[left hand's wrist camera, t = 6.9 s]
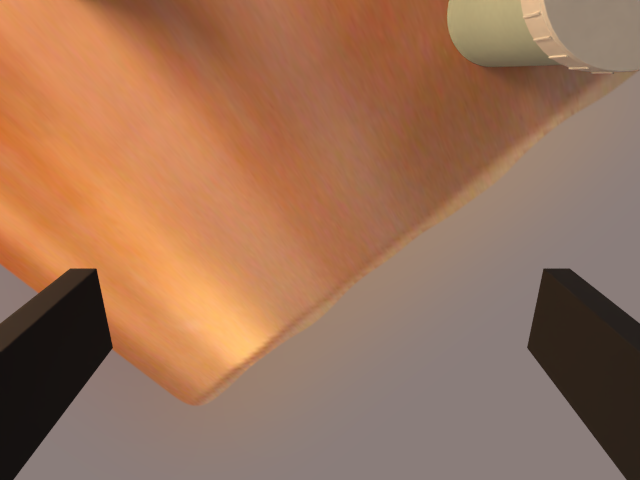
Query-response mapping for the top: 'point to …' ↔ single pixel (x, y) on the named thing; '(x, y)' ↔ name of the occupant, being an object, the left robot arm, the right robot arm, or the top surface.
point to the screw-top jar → (493, 33)
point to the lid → (587, 33)
